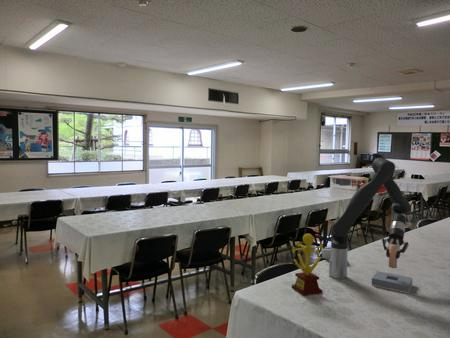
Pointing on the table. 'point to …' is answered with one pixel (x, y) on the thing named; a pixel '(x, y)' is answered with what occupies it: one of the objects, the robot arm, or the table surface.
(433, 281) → the table surface
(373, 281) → the socket block
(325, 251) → the hinge
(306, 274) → the trophy
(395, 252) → the peg
